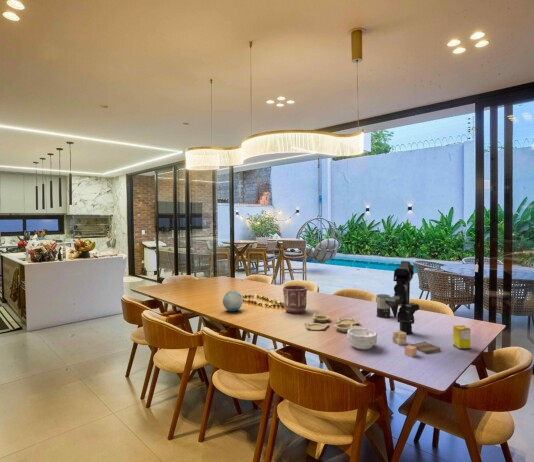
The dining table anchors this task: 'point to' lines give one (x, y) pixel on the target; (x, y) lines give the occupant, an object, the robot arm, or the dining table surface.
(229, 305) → the decorative ball
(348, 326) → the tableware set
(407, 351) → the terracotta cube
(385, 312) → the milk frother
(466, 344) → the supplement box
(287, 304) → the pottery
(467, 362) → the dining table surface
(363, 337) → the paper bowls
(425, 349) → the walnut block
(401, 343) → the oak block
